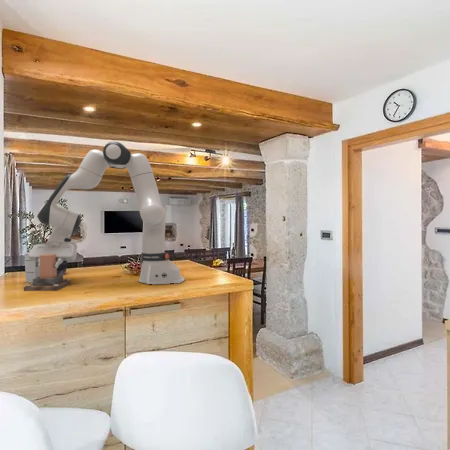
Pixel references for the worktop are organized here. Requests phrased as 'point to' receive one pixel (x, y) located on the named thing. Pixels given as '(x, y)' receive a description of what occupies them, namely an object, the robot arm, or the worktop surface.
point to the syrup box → (31, 269)
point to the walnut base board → (47, 284)
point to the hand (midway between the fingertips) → (47, 267)
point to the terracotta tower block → (48, 266)
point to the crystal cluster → (62, 268)
